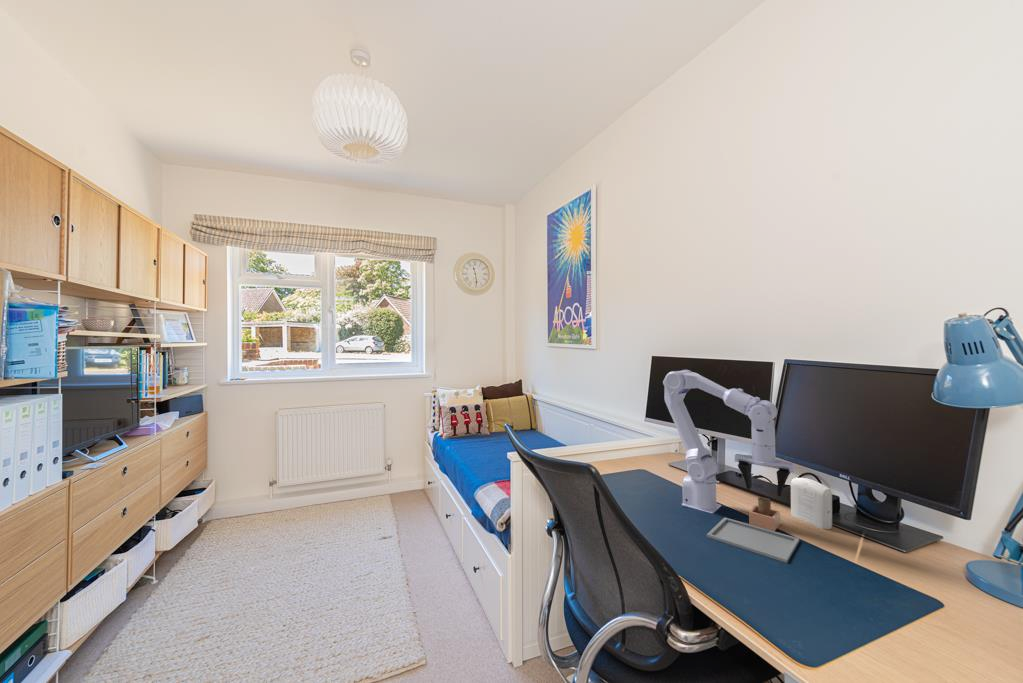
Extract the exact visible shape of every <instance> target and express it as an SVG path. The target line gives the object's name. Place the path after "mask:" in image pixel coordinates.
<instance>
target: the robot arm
mask: <svg viewBox="0 0 1023 683" xmlns="http://www.w3.org/2000/svg"><path fill="white" fill-rule="evenodd" d="M662 384H663V386H664V403H665V404H666V408H667V409H668V412H669V414H670V416H671V418H672V421H673V423H674V425H675V428H676V429H677V432H678V434H679V437H680V439H681V442H682V443H683V446H684V448H685V451H686V454H685V458H684V460H685V462H686V466H687V467H686V471H687V474H688V475H686V476H684V478H683V481H682V486H681V487H682V488H681V489H682V503H681V506H682V507H685V508H692V509H695V510H699V511H702V512H706V513H709V514H714V513H715V512H717V511H718V510H719V509H720V508H721V507H722V504H719V503H717V478H716V474H718V472H719V471H720V464H719V462H718V460H717V459H716V458H715V457H714V456H713V455H712V453H711V451H710V450H709V449H708V448H706V447H705V446H704V444H703V442H702V440H701V437H700V436H699V433H698V430H697V428H696V427H695V424H694V422H693V420H692V418H691V416H690V413H689V411H688V408H687V406H686V405H685V402H684V399H685V396H686V395H687V393H688V392H689V391H690V390H691V389H699V390H701V391H704V392H706V393H708V394H711V395H713V396H715V397H718V398H719V399H721V400H723V403H724V405H725V406H727V407H730V409H734V410H735V411H737V412H740V414H743V415H744V416H748V419H750V421H751V427H750V430H751V455H750V454H748V455H747V454H739V453H736V454H734V463H738V464H737V467H738V469H739V472H740V473H741V475H742V477H743V480H744V482H745V487H746V489H747V490H750V489H752V483H753V482H752V466H753V465H756V466H760V467H761V466H762V467H765V468H772V469H777V471H776V480H777V496H778V497H781V496H783V492H784V488H785V484H786V482H787V479H788V478H789V475H790V474H791V473H795V471H796V463H793V462H787V461H785V460H780V459H776V458H777V457H776V428H775V418H776V417H777V415H778V409H777V407H776V405H775V404H774V403H772V402H771V401H769V400H763V399H762V400H761V398H760V397H758V396H755V397H754V396H752V395H751V394H748V393H746V392H744V389H742V388H735V387H734V388H729V389H728V388H726V387H724V386H722V385H720V384H719V383H716V382H715V381H713V380H710V379H709V378H706V377H705V376H703V375H700V374H699V373H697V372H693V371H691V370H689V369H682V370H675V371H674V370H673V371H670V372H667V374H666V375H665V377H664V379H663V381H662Z"/></svg>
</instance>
